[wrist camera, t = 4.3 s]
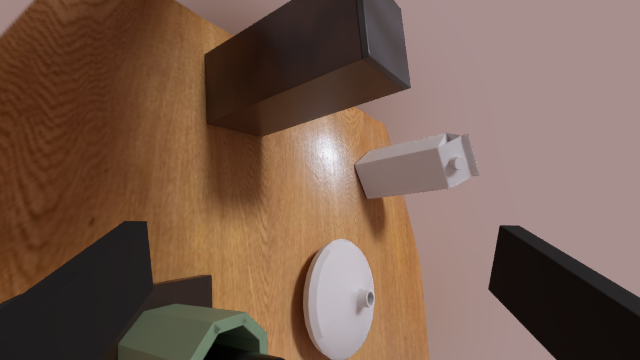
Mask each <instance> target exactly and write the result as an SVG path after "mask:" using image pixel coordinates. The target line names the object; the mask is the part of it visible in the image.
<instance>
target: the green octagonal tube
mask: <svg viewBox="0 0 640 360" xmlns="http://www.w3.org/2000/svg"><path fill="white" fill-rule="evenodd" d="M213 343H216V344H221V345H225V346H230V347H234V348H239V349H244V350H248V351H253V352H257V353H262V354H266V355H268V340H267V332H266V331H265V330H264V329H263V328H262V327H261V326H260V325H258V324H257V323H256V322H255V321H254V320H253V319H252V318H251V317H250V316H249V315H248V314H247V313H246V312H241V311H233V310H224V309H216V308H208V307H199V306H191V305H183V304H172V305H168V306H164V307H159V308H155V309H151V310H147V311H144V312H143V313H142V314H141V315H140V317H139V318H138V319H137V321H136V322H135V323H134V324H133V326H132V327H131V328H130V329H129V331H128V332H127V333H126V334H125V336H124V337H123V338H122V339H121V341H120V342H119V343H118V360H203V359H204V357H205V355H206V354H207V352H208V350H209V349H210V347H211V345H212V344H213Z"/></svg>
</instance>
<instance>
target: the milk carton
mask: <svg viewBox="0 0 640 360" xmlns="http://www.w3.org/2000/svg"><path fill="white" fill-rule="evenodd" d="M355 168H356V171H357V173H358V176H359V179H360V181H361V184H362V187H363V189H364V192H365V195H366V197H367V199H374V198H381V197H389V196H396V195H404V194H411V193H419V192H426V191H434V190H441V189H448V188H452V187H454V186H455V185H457V184H459V183H461V182H463V181H465V180H467V179H469V178H470V177H472V176H479V171H478V167H477V164H476V160H475V156H474V152H473V149H472V145H471V142H470V137H469V134H466V135H456V134H450V133H444V134H440V135H436V136H431V137H426V138H422V139H418V140H413V141H409V142H405V143H401V144H397V145H392V146H387V147H383V148H379V149H374V150H370V151H368V152H367V153H366V154H365V155H364V156H363V157H362V158H361V159H360V160H359V161H358V162H357V163H356V164H355Z"/></svg>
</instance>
